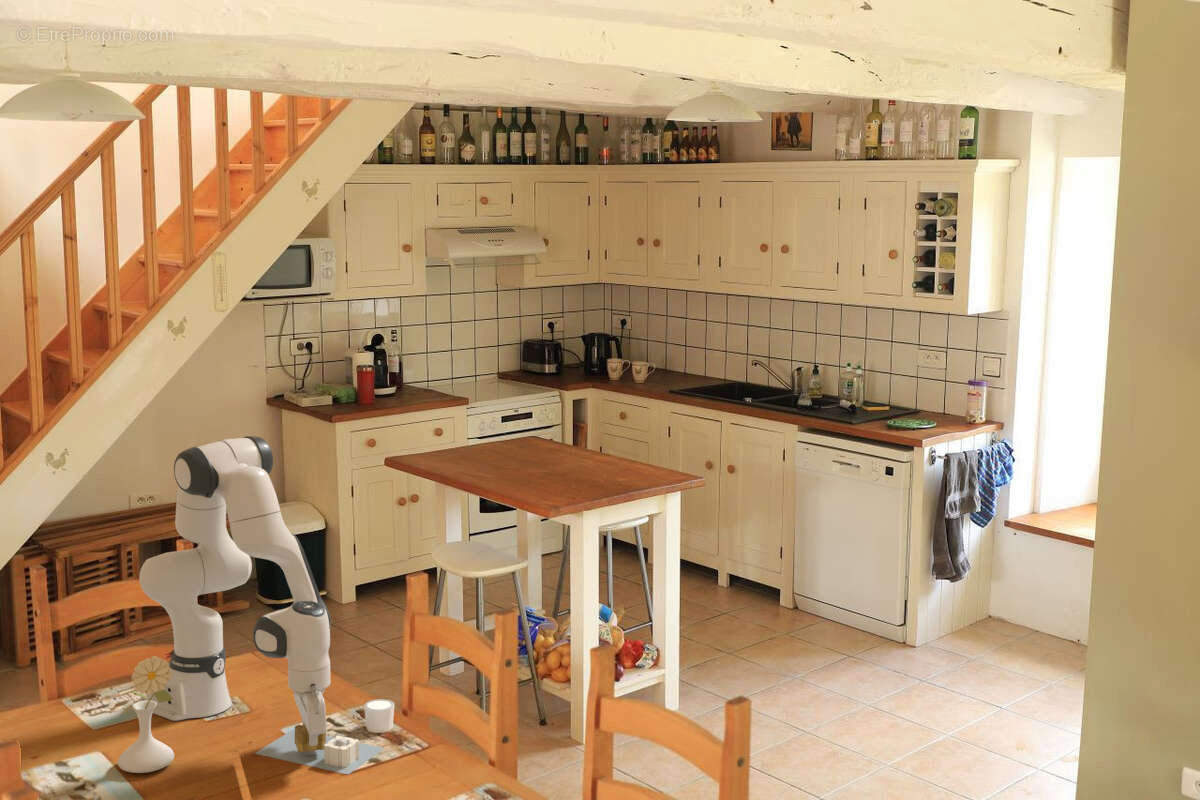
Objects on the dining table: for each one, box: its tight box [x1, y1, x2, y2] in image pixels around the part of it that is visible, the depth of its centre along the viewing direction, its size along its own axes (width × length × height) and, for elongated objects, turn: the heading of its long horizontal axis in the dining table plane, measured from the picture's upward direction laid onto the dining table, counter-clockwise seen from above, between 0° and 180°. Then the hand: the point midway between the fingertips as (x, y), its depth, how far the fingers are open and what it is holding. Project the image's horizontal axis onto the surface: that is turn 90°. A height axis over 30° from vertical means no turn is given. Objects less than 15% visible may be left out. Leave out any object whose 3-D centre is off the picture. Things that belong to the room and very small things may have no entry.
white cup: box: [363, 698, 396, 734], centre depth 273 cm, size 7×7×7 cm
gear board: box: [254, 728, 385, 775], centre depth 261 cm, size 24×14×6 cm, turn 68°
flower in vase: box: [117, 655, 175, 774], centre depth 253 cm, size 13×11×25 cm
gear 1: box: [294, 723, 327, 752], centre depth 259 cm, size 7×7×4 cm
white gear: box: [324, 735, 360, 768], centre depth 256 cm, size 7×7×4 cm
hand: (310, 737), depth 259 cm, fingers closed on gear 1, 6 cm apart
